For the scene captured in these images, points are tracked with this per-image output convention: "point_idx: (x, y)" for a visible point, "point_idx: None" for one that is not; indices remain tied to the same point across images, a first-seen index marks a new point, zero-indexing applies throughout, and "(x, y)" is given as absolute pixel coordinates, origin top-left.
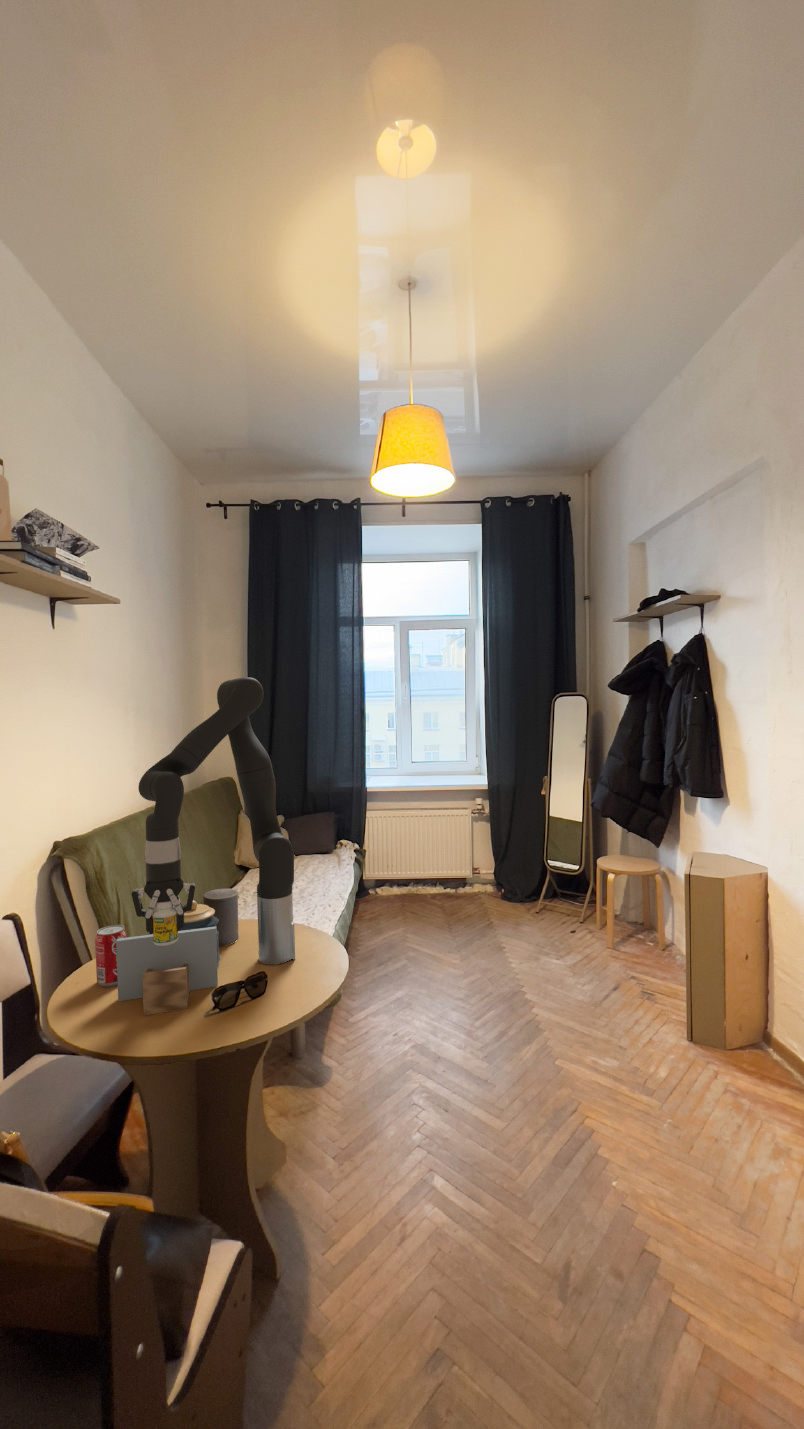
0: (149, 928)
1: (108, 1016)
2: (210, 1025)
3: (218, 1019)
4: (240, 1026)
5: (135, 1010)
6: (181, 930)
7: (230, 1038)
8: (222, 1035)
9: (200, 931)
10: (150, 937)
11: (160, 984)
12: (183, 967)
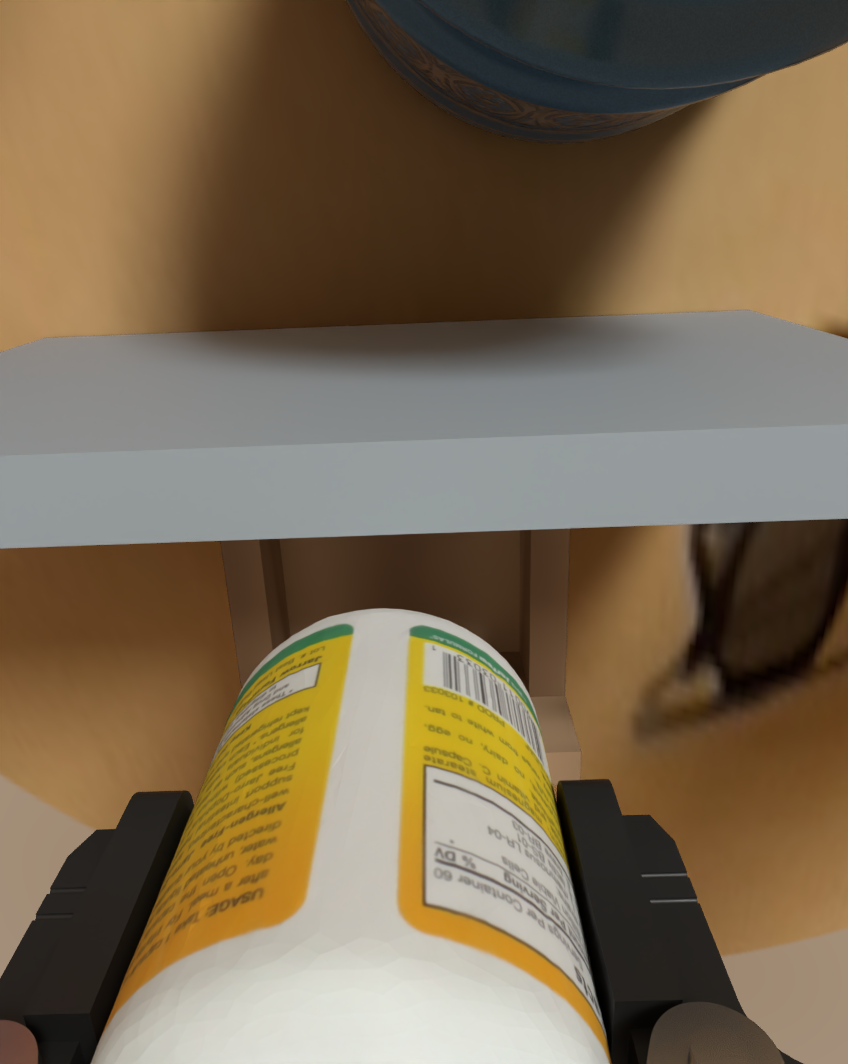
0: None
1: (67, 576)
2: (659, 819)
3: (704, 777)
4: (803, 864)
5: (216, 549)
6: (529, 25)
7: (741, 939)
8: (709, 910)
9: (840, 514)
10: (138, 542)
11: None
12: (558, 756)
